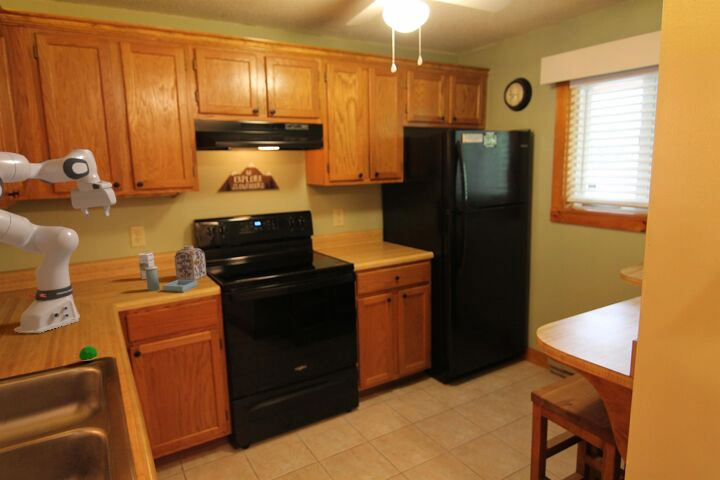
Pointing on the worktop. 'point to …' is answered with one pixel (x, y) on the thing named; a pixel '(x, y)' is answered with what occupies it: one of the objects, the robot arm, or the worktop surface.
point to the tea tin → (152, 278)
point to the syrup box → (145, 263)
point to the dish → (180, 285)
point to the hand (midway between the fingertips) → (97, 216)
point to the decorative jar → (190, 263)
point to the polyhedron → (88, 353)
